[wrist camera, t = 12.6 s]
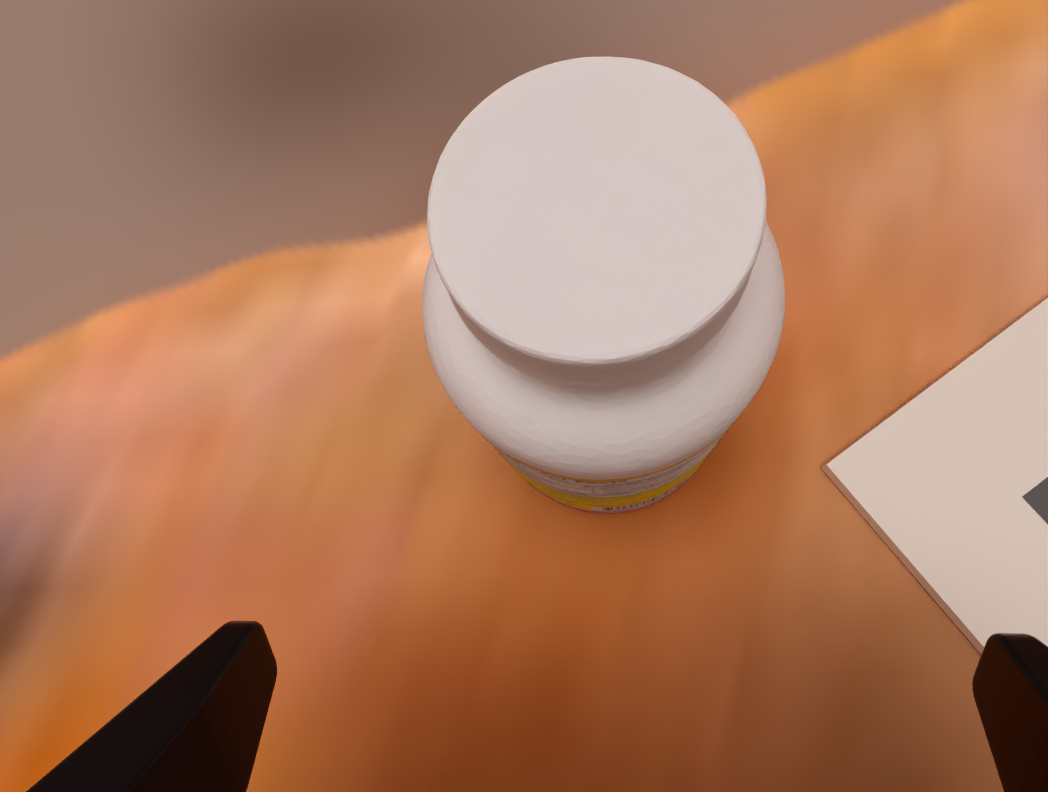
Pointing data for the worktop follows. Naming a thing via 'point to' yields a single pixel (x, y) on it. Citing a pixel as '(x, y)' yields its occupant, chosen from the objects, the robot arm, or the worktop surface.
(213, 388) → the worktop surface
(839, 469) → the pad
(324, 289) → the worktop surface
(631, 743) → the worktop surface
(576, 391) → the supplement bottle
